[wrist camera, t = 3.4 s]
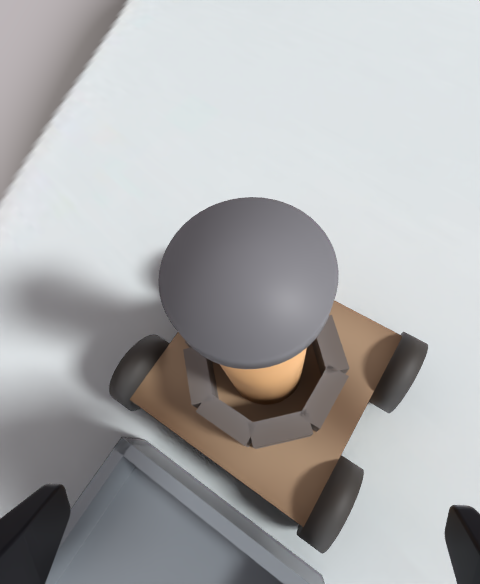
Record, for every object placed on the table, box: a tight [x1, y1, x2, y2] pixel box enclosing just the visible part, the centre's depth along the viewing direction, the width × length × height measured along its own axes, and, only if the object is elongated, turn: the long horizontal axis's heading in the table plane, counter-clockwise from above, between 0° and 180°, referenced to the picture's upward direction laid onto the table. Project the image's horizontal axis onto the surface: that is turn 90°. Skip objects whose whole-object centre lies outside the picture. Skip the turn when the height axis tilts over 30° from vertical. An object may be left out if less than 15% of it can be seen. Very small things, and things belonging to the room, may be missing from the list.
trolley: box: [109, 301, 428, 553], centre depth 20 cm, size 11×12×5 cm
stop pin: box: [159, 197, 338, 405], centre depth 14 cm, size 4×4×11 cm
